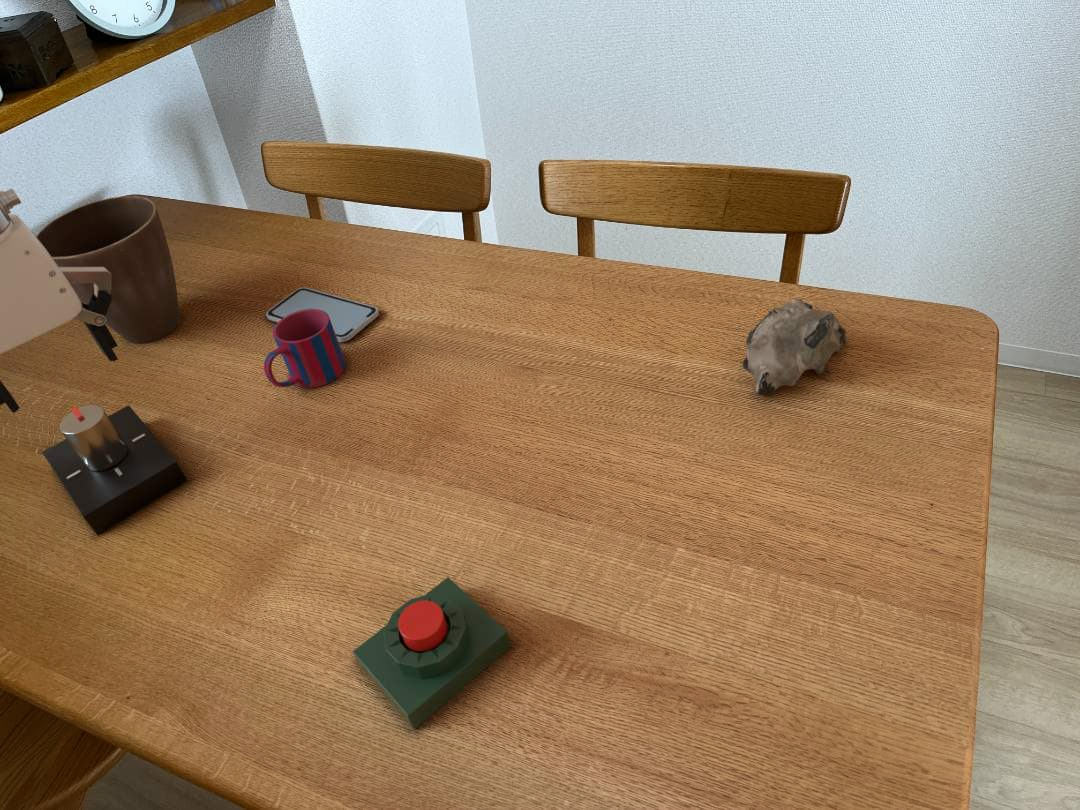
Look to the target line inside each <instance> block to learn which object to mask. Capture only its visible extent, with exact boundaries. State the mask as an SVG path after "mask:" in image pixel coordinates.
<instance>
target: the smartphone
mask: <svg viewBox="0 0 1080 810" xmlns="http://www.w3.org/2000/svg"><path fill="white" fill-rule="evenodd" d="M305 309H318V310H322V311H324V312H326V313H327V314H328V315H329V318H330V320H331V323H332V326H333V329H334V331H335V334H336V337H337V339H338V342H339V343H344V342H345V343H346V342H348V341H350V340H351V339H353V338H354V337H355V336H356V335H358V333H360V332H361V331H362V330H363V329H365V327H367V326H368V325H369V324H371V323H372V322H373V321H374V320H375V319H376V318H377V317H378V316H379V315H380V312H379V309H378V308H377V306H373V305H369V304H366V303H362V302H360V301H356V300H353V299H348V298H346V297H340V296H338V295H334V294H330V293H327V292H323V291H320V290H316V289H312V288H309V287H299V288H297V289H295V290H294V291H293V292H291V293H290V294H288V295H287V296H286V297H284V298H283V299H281V301H279V302H278V303H276V304H275V305H273V306H272V307H271V308H270V309H267V311H266V313H265V314H266V318H267V319H268V321H271V322H275V323H278V322H279V321H280V320H281V319H283V318H284V317H286V316H287V315H289V314H291V313H294V312H297V311H300V310H305Z"/></svg>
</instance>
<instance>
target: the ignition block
mask: <svg viewBox="0 0 1080 810" xmlns="http://www.w3.org/2000/svg"><path fill="white" fill-rule="evenodd" d="M418 601H432V602H434V603H436V604H437V605H439V606H440V608H441V609H442V612H443V614H444V617H445V620H446V623H447V634H446V636H445V638H444V640H443V641H442V642H441V643H440V644H439V645H438V646H437V647H435V648H434V649H431V650H428V651H423V652H420V651H415V650H412V649H410V648H409V647H408V646H407V645H406V644H405V642H404V640H403V637H402V635H401V633H400V631H399V627H398V622H399V618H400V615H401V614H402V612H403V611H404V610H405V609H406V608H407V607H408V606H409V605H411V604H413V603H415V602H418ZM510 641H511V640H510V637H509V634H508V631H507V630H506V628H504V627H503V626H502V625H501V624H500V623H498V622H497V620H495V619H494V618H493V617H492V616H491V615H490V614H489V613H488V612H487V611H485V609H483V607H481V606H480V605H479V604H478V603H477V602H476V601H475V600H474V599H473V598H472V597H470V596H469V595H468V594H467V592H465V591H464V590H463V589H462V588H461V587H460V586H458V585H457V583H456V582H454V580H452V579H451V578H450V577H448V576H447V577H446V578H445V579H443V580H442V581H441V582H440V583H438V584H437V585H435V586H434V587H433V588H431V589H430V590H429V591H428V592H427V593H426V594H424V595H422V596H417V597H414V598H410V599H409V600H407V601H406V602H405V603H404V604H402V605H401V606H399V607H398V608H397V609H396V610H394V611H393V612H392V613H391V616H390V618H389V620H388V621H387V623H386V625H384V626H383V627H382V628H380V630H378V631H377V632H376V633H375V634H373V635H372V636H370V637H369V638H367V640H366V641H364V642H363V643H362V644H360V645H359V646H358V647H357V648H355V649H354V650H352V654H353V656H354V659H355V660H356V662H357V664H358V666H359V667H360V668H361V670H362V671H363V673H365V674H366V675H367V677H368V678H369V680H371V681H372V683H373V684H374V685H375V686H376V687H377V689H378V690H379V691H380V692H381V693H382V694H383V696H384V697H385V698H386V699H387V700H388V701H389V703H391V705H392V706H393V707H394V708H395V709H396V711H397V712H398V713H399V714H400V715H401V716H402V717H403V719H404V720H405V721H406V722H407V723H408V724H409V726H410V727H411V728H412V729H413V730H414V731H415V730H416V729H418V728H419V727H420V726H421V725H422V724H423V723H425V722H426V721H427V720H428V719H429V718H431V716H432V715H433V714H435V713H436V712H437V711H438V710H439V709H441V707H443V706H444V705H445V704H446V703H447V702H448V701H450V700H451V699H452V698H453V697H454V696H455V695H456V694H457V693H459V692H460V691H461V690H462V689H463V688H464V687H466V686H467V685H468V684H469V683H471V682H472V681H473V680H474V679H475V678H476V677H478V676H479V675H480V674H481V673H482V672H483V671H485V670H486V668H487V667H489V666H490V665H491V664H492V663H493V662H494V661H496V660H497V659H498V658H499V657H500V656H501V655H503V654H504V653H505V652H506V651H507V650H509V649H510V647H511V646H512V645H511V642H510Z"/></svg>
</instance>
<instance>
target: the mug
mask: <svg viewBox="0 0 1080 810" xmlns="http://www.w3.org/2000/svg"><path fill="white" fill-rule="evenodd" d="M272 336H273V339H274V342H275V343H276V345H277V348H275V349H273V350H272V351H270V352H269V353H268V354H267V355H266V357H265V359H264V362H263V370H264V374H265V376H266V379H267V380H268V381H269V382H270V383H271V384H272V385H274V386H275V387H279V388H289V387H292V386H295V385H297V386H299V387H301V388H318V387H322V386H325V385H328V384H330V383H332V382H333V381H335V380H337V378H339V377H340V376H341V375H342V374H343V373H344V371H345V368H346V365H347V363H346V358H345V355H344V354H343V350H342V348H341V345H340V342H338V339H337V337H336V334H335V331H334V329H333V326H332V323H331V320H330V318H329V315H328V314H327V313H326V312H324V311H322V310H318V309H305V310H300V311H297V312H294V313H291V314H289V315H287V316H286V317H284V318H283V319H281V320H280V321H279V322H276V324H275V325H274V327H273V330H272ZM279 355H281V357H282V359H283V361H284V364H285V366H286V368H287V371H288V373H289V375H290V378H289V379H287V380H285V381H278V380H277V379H276V378H275V376H274V373H273V370H272V364H273V361H274V359H275V358H277V356H279Z"/></svg>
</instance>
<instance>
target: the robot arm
mask: <svg viewBox="0 0 1080 810" xmlns="http://www.w3.org/2000/svg"><path fill="white" fill-rule="evenodd" d="M20 204H22V201H21V199H20V198H19V196H18V195H17V193H16V192H15V190H14V189H13V188H10V189H8V190H0V355H2V354H5V353H7V352H9V351H11V350H14V349H15V348H18V347H20V346H22V345H24V344H26V343H28V342H30V341H33V340H35V339H36V338H40V337H42V336H43V335H45V334H48V333H49V332H51V331H53V330H56V329H58V328H59V327H62V326H63V325H66V324H67V323H69V322H71V321H73V320H76V321H78V322H82V323H83V324H84V325H85V328H86V329H87V331H88V332H89V333H90V335H91V337H92V338H93V340H94V341H95V343H96V345H97V346H98V348H99V350H100V351H101V352H102V353H103V355H104V356H105V357H106V358H107V360H108V361H109V362H113V363H114V362H116V361H117V360H119V358H118V356H117V354H116V353H115V351H114V350H113V349H114V348H117V347H118V346H119V344H118V343H117V341H116V340H115V338H114V337H113V335H112V333H111V332H110V330H109V328H108V326H107V325H106V324H105V323H106V317H105V316H106V314H107V311H108V308H109V306H110V303H111V300H112V296H111V282H112V275H111V273H110V272H109V271H108V270H107V269H106V268H104V267H58V265H57V264H56V263H55V261H54V260H53V258H52V257H51V256H50V254H49V253H48V251H47V250H46V249H45V247H44V246H43V245H42V243H41V242H40V241H39V240H38V239H37V237H36V236H37V235H36V234H35V233H34V232H33V231H32V229H31V228H30V226H28V225H27V223H25V222H24V221H23V219H21V218H20V217H19V216H18V215H17V214H12V212H11V211H10V210H12V209H14V207H15V206H17V205H20ZM75 283H94V291H93V293H92V296H91V299H90V301H89V304H88V303H85V302H82V301H80V300H79V298H78V296H77V294H76V293H75V291H74V289H73V288H72V286H71V284H75ZM3 404H6V406H7V407H8V409H9V410H10V411H11V413H13V414H14V413H16V412H19V409H20V408H21V407H20V406H19V404H18V402H17V401H16V399H15V398H14V396H13V395H12V393H11V392H10V391H9V389H8V388H7V387H6V386H5V384H4V383H3V382H2V380H1V379H0V406H2V405H3Z"/></svg>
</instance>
